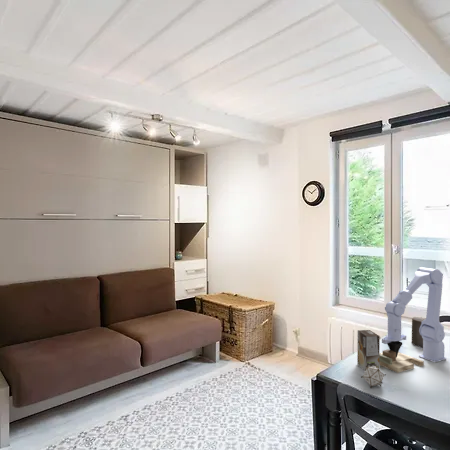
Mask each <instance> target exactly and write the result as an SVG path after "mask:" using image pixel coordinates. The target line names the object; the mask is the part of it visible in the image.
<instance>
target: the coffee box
mask: <svg viewBox="0 0 450 450" xmlns="http://www.w3.org/2000/svg"><path fill="white" fill-rule="evenodd" d="M380 340H381V338H380V335H378V334H377V333H376V332H374V331H372V330H370V329H360V330H357V357H356V358H357V366H358V367H359V368H360V369H362V370H363V371H364V372H365V369H366V368H367V367H371V366H375V364H376V367H377V368H378V369H379V370H380V365H379V353H380ZM366 366H367V367H366Z"/></svg>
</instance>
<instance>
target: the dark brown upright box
mask: <svg viewBox="0 0 450 450" xmlns="http://www.w3.org/2000/svg"><path fill="white" fill-rule="evenodd" d="M425 319H426V317H422V316H421V317H419V316H414V317H412V318H411V344H412V345H414V346H417V347H420V348H423V338H422V336H421V335H420V332H419V329H420V326H421V323H422V321H423V320H425Z"/></svg>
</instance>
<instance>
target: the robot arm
mask: <svg viewBox="0 0 450 450" xmlns="http://www.w3.org/2000/svg"><path fill="white" fill-rule="evenodd" d="M443 277H444V274H443V273H442V271H441V270H440V269H437V268H429V267H424V266H420V267H418V268H417V269H416V271H415V272H414V277H413V278H412V280H411V281H410V282H409V284H408V285H407V286H406V288H405V289H401V290H400V291H399V292H398V293H397V294H396V296H395V297H394V298H393V299H392V300H391V301H388V302H387V303H386V304H385V307H384V310H385V312H386V316H387V334H386V335H385V337H384V338H381V343H382V344H384V345H387V347H388V349H389V350H391V351H394V352H396V357H397V355H398V352H400V349H401V347H402V345H403V342H402V341H407V335H404V334H402V316H403V315H404V314H405V310H406V306H408V304H409V303H410V301H412V299H413V294H414V293H415V292H416V291H418V289H419V288H420V287H421V286H422V285H424V284H426V285H427V287H428V296H427V297H428V298H427V306H426V317H425V318H426V319H425V320H423V321H422V323H421V326H420V329H419V332H420V335H421V336H422V338H423V347H422V354H419V356H418V357H419V358H422V359H425V360H427V361H430V362H433V363H436V362H440V361H444V360H447V357H445V343H444V341H443V340H445V337H446V334H445V330H444V329H445V327H444V325H443V324H442V323H441V322H440V313H441V304H442V294H443Z"/></svg>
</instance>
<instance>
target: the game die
mask: <svg viewBox="0 0 450 450" xmlns="http://www.w3.org/2000/svg"><path fill="white" fill-rule="evenodd" d="M366 367H367V366H366ZM385 376H387V374H384V373H383V371H382V370H380V368H379V369H378V368H377V367H376V364H375V366H371V367H367V368H366V369H365V371H364V373H363V375H362V376H360V378H362V379H364V380H365V381H366V382H367V384H368V385H369V386H370V389H372V387H376V386H380V387H382V384H383V379H384V378H385Z"/></svg>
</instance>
